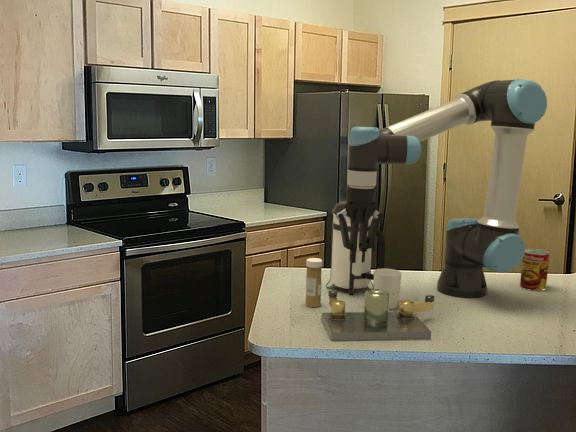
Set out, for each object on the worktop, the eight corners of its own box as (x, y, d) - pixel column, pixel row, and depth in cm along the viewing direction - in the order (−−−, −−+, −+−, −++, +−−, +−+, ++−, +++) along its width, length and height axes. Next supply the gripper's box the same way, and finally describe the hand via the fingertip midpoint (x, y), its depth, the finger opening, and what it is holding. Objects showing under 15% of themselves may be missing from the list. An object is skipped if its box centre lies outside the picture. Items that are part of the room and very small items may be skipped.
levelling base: (412, 318, 171) (415, 281, 170) (430, 339, 157) (433, 298, 155) (321, 319, 169) (322, 281, 167) (331, 340, 154) (332, 298, 152)
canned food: (515, 286, 205) (518, 250, 203) (527, 282, 210) (531, 247, 208) (538, 292, 199) (541, 255, 197) (550, 288, 204) (554, 252, 202)
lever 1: (338, 305, 174) (338, 290, 173) (346, 319, 163) (346, 303, 162) (325, 305, 173) (325, 290, 173) (332, 319, 162) (332, 303, 162)
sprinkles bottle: (324, 306, 180) (325, 260, 178) (311, 308, 178) (312, 262, 175) (314, 301, 184) (316, 256, 182) (301, 304, 182) (303, 258, 179)
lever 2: (436, 313, 170) (437, 297, 169) (404, 319, 164) (405, 303, 163) (427, 309, 173) (428, 293, 172) (395, 315, 167) (396, 299, 166)
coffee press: (324, 295, 190) (328, 196, 185) (327, 281, 206) (330, 189, 201) (382, 298, 188) (387, 199, 183) (381, 284, 204) (386, 191, 199)
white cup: (401, 303, 185) (403, 270, 183) (396, 311, 177) (399, 277, 175) (375, 300, 187) (376, 267, 185) (369, 307, 180) (371, 273, 178)
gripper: (378, 184, 170) (373, 269, 174) (332, 184, 167) (328, 271, 171) (390, 188, 163) (384, 277, 167) (343, 188, 160) (338, 279, 164)
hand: (356, 274), depth 169 cm, fingers closed
